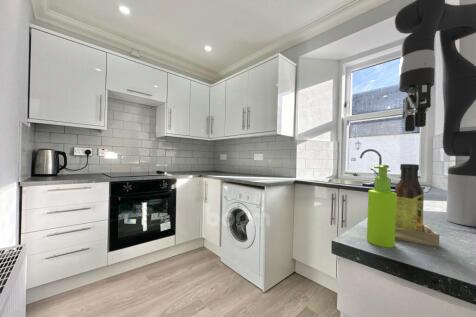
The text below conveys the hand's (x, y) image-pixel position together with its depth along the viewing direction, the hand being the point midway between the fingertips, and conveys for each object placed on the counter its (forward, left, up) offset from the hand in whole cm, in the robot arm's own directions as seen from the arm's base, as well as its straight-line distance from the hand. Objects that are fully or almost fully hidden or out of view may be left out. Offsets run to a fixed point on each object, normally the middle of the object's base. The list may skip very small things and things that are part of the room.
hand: (414, 129), depth 57 cm
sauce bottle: (+1, -1, -30) cm, 30 cm away
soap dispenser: (+11, -9, -31) cm, 34 cm away
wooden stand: (+1, -1, -30) cm, 30 cm away
